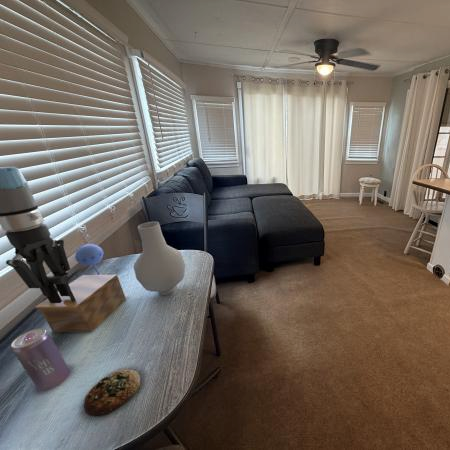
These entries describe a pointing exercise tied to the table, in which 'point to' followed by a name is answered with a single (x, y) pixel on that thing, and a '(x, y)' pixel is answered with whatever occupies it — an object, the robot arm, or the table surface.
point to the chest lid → (76, 290)
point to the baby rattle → (89, 255)
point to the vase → (158, 261)
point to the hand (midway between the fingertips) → (61, 298)
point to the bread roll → (111, 392)
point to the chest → (87, 310)
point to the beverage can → (40, 358)
